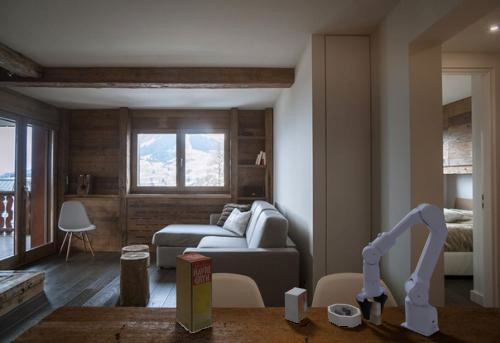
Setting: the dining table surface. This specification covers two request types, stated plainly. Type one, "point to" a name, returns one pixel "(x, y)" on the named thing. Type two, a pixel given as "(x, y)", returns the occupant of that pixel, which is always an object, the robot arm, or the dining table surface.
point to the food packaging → (194, 291)
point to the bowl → (344, 320)
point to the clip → (344, 311)
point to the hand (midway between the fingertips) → (372, 316)
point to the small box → (296, 304)
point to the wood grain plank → (375, 313)
